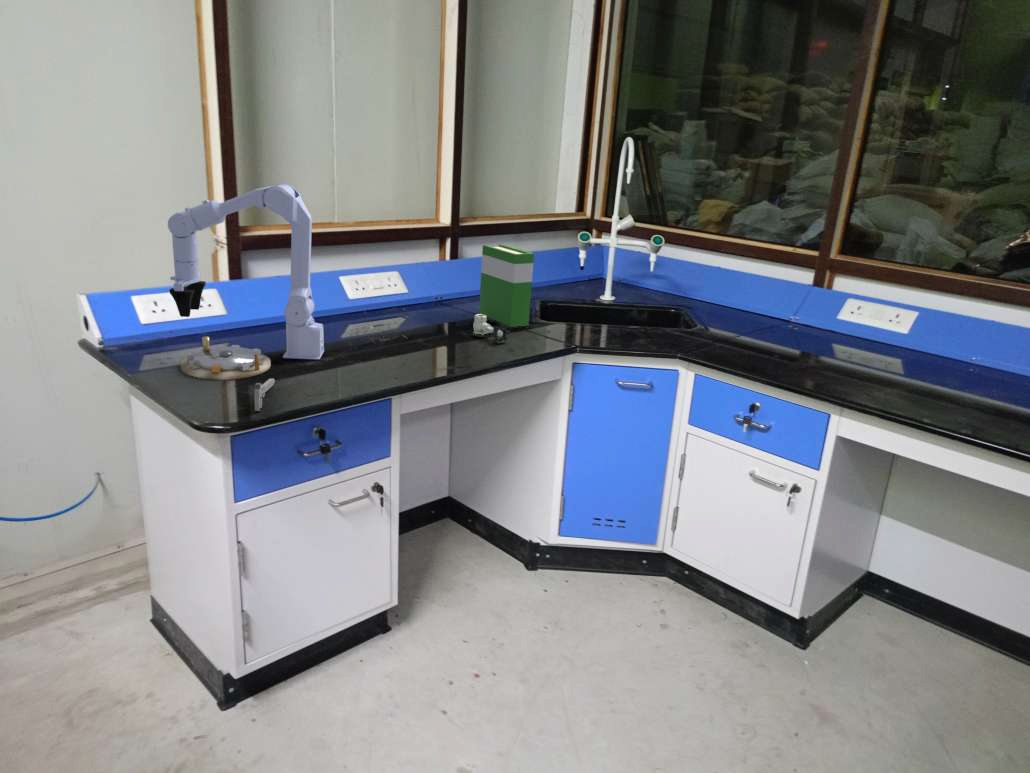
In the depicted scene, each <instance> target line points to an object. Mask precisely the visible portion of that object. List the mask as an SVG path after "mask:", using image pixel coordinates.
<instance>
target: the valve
mask: <svg viewBox="0 0 1030 773" xmlns="http://www.w3.org/2000/svg"><path fill="white" fill-rule="evenodd" d="M487 321H488V320H487V316H486V315H483V314H479V313H477V314H475V315H474V320H473V325H472V326H473V327H472V328H473V334H474V333H475V334H481V335H484V334H489V333H490V335H491V337H493V338H492V342H493V343H495V344H497V342H502V343H503V341H505V342H506V341H508V338H507V335H510V330H509V329H508V325H506V324H504V327H503V323H501V322H500V323H499V325H498V326H497V325H494V326H492V325H491V324H490V323H487ZM507 329H508V330H507ZM499 337H500V338H499Z"/></svg>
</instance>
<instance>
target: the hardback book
mask: <svg viewBox="0 0 1030 773" xmlns="http://www.w3.org/2000/svg"><path fill="white" fill-rule="evenodd" d="M534 260H535V252H534V253H533V252H531V251H527V250H522V249H519V248H516V247H512V246H509V245H505V244H501V243H500V244H498V246H489V245H486V244H483V245H482V252H481V272H480V289H479V291H480V292H479V305H478V308H479V309H478V314H479V313H480V314H483V315H486V316H487V317H489V318H491V319H494V320H496V321H498V322H501V323H503V324H506V325H508V326H509V327H517V326H527V325H529V324H530V310H531V299H532V298H531V297H532V289H533V288H532V286H533V273H534ZM529 326H530V325H529Z"/></svg>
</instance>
